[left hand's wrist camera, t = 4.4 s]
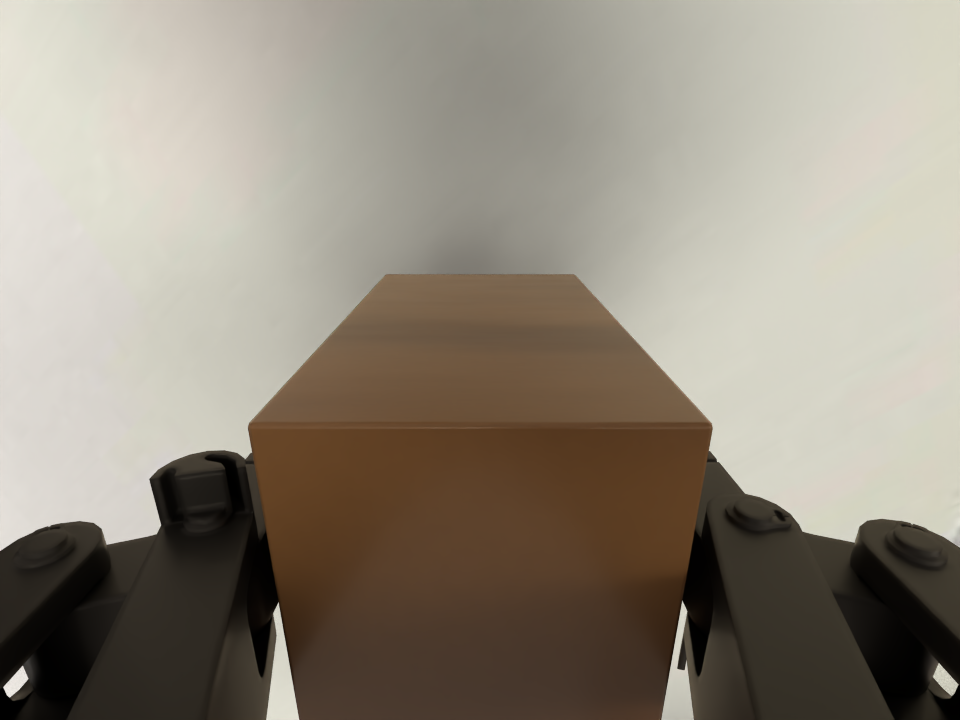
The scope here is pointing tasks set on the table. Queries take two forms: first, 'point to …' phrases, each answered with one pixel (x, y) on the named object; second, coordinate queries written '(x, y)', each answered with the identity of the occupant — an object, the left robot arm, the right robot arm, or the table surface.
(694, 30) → the table surface
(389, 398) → the bar
